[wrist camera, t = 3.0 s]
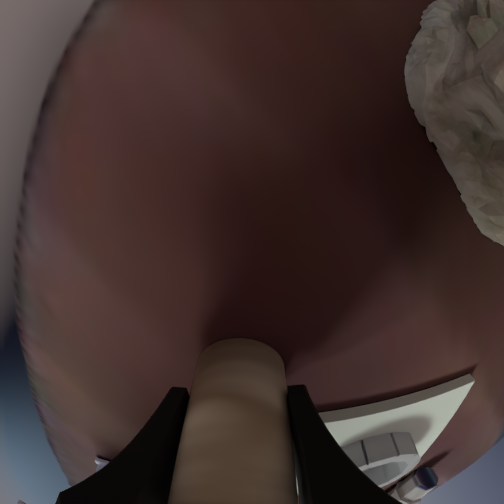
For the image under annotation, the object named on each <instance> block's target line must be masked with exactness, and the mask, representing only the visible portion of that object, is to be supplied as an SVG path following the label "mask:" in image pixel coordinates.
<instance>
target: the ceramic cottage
mask: <svg viewBox="0 0 504 504" xmlns="http://www.w3.org/2000/svg"><path fill="white" fill-rule="evenodd" d="M423 14H424V15H422V17H421V18H422V20H421V22H420V25H421V27H422V28H421V29H420V31H419V32H418V33H417V34H416V36H415V39H414V40H413V42H411V44H412V47H411V48H410V49H409V51H408V52H409V54H407V56H406V64H405V70H404V75H405V83H406V89H407V94H408V100H409V103H410V106H411V108H413V109H414V110H415V112H414V114H415V116H416V118H417V120H418V122H419V123H420V124H421V125H422V126H424V127H426V134H427V137H428V139H429V141H430V142H434V144H435V145H436V147H437V150H436V151H437V152H438V154H439V155H440V158H441V159H442V161H443V163H444V165H445V167H446V169H447V171H448V172H449V174H450V175H451V176H452V178H453V180H454V182H455V184H456V186H457V189H458V190H459V191H460V193H461V195H460V197H461V199H462V202H464V203H465V204H466V206H465V207H467V209H466V210H467V211H468V212H469V214H470V215H471V216H472V218H473V221H474V223H475V224H477V227H478V228H479V230H480V231H481V233H482V234H484V235H485V236H487V237H489V239H492V240H493V242H498V243H499V244H501V245H503V246H504V0H436V1H434V2H433V3H431V4H430V5H428V7H427V9H426V10H424V11H423Z"/></svg>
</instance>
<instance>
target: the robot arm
mask: <svg viewBox="0 0 504 504" xmlns="http://www.w3.org/2000/svg"><path fill="white" fill-rule="evenodd" d="M189 397H190V396H189V394H188V391H187V388H181V387H172V388H171V389H170V390H169V392H168V393H167V395H166V396H165V398H164V399H163V401H162V402H161V404H160V405H159V407H158V408H157V409H156V411H155V412H154V414H153V415H152V416H151V418H150V419H149V420H148V422H147V423H146V424H145V426H144V427H143V428H142V429H141V430H140V432H139V433H138V434H137V435H136V436H135V437H134V439H133V440H132V441H131V442H130V443H129V444H128V445H127V446H126V447H125V448H124V449H123V450H122V451H121V452H120V453H119V454H118V455H117V456H116V457H115V458H114V459H112V460H111V461H106V460H103V459H99V458H96V459H95V462H96V463H97V464H98V466H97V469H96V472H95V473H94V474H93V475H91V476H90V477H88V478H87V479H85V480H84V481H82V482H80V483H78V484H76V485H74V486H72V487H71V488H68V489H66V490H64V491H62V492H60V493H59V496H58V498H57V501H56V503H55V504H168V499H169V494H170V488H171V483H172V478H173V473H174V468H175V463H176V458H177V453H178V448H179V443H180V438H181V433H182V429H183V424H184V419H185V415H186V410H187V406H188V401H189ZM288 405H289V414H290V422H291V431H292V441H293V451H294V461H295V471H296V478H297V485H298V498H299V504H403V503H401V502H399V501H398V500H396V499H395V498H394V497H392V496H391V495H389V494H388V493H387V492H385V491H384V490H383V489H381V488H380V487H379V486H378V485H377V484H375V483H374V482H373V481H372V480H371V479H370V478H369V477H368V476H367V475H365V474H364V473H363V472H362V471H361V470H360V469H359V468H358V467H357V466H356V465H355V463H354V462H353V461H352V460H351V459H350V458H349V457H348V456H347V454H346V453H345V452H344V451H343V450H342V448H341V447H340V446H339V444H338V443H337V442H336V440H335V439H334V437H333V436H332V435H331V433H330V432H329V430H328V429H327V427H326V425H325V424H324V422H323V421H322V419H321V417H320V415H319V414H318V412H317V410H316V408H315V406H314V404H313V402H312V400H311V398H310V396H309V393H308V391H307V388H306V386H305V385H293V386H288ZM18 504H26V503H24V502H22V501H21V500H19V501H18Z"/></svg>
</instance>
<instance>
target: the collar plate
mask: <svg viewBox="0 0 504 504" xmlns="http://www.w3.org/2000/svg"><path fill="white" fill-rule="evenodd" d="M474 381H475V380H474V379H473V377H472V376H471V375H470V373H469V374H467V375H465V376H462V377H459V378H457V379H454V380H451V381H449V382H446V383H443V384H440V385H437V386H434V387H431V388H428V389H425V390H422V391H419V392H415V393H412V394H408V395H405V396H401V397H397V398H393V399H389V400H385V401H381V402H377V403H372V404H367V405H362V406H357V407H352V408H346V409H340V410H334V411H328V412H320V413H318V414H319V415H320V417H321V419H322V421H323V422H324V424H325V425H326V427H327V429H328V430H329V432H330V433H331V435H332V436H333V437H334V439H335V440H336V442H337V443H338V444H339V446H340V447H341V448H342V450H343V451H344V452H345V453H346V454H347V456H348V457H349V458H350V459H351V460H352V461H353V462H354V463H355V465H356V466H357V467H358V468H359V469H360V470H361V471H362V472H363V473H364V474H365V475H367V476H368V477H369V478H370V479H371V480H372V481H373V482H374V483H375V484H377V485H378V486H379V487H382V486H385V485H387V484H390V482H394V481H395V480H397V479H399V478H400V477H402V476H403V475H405V474H407V473H408V472H410V471H411V470H412V469H413V468H414V467H415V466H416V465H417V464H418V463H419V461H420V460H421V459H420V457H421V456H422V455H423V454H424V453H425V452H426V450H427V449H428V448H429V447H430V446H431V444H432V443H433V442H434V441H435V439H436V438H437V437H438V436H439V434H440V433H441V432H442V430H443V429H444V428H445V426H446V425H447V423H448V422H449V421H450V419H451V418H452V416H453V415H454V413H455V412H456V410H457V409H458V407H459V406H460V404H461V403H462V401H463V400H464V398H465V397H466V395H467V393H468V392H469V390H470V388H471V387H472V385H473V383H474ZM296 482H297V478H296ZM297 493H298V485H297Z"/></svg>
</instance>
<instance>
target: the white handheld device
mask: <svg viewBox="0 0 504 504" xmlns="http://www.w3.org/2000/svg"><path fill="white" fill-rule="evenodd" d="M437 482H438V476H437V474H436V473H435V471H434V470H433V469H431V468H429V467H425V468H420V469H417V470H416V471H414V472H413V473H412V474H410V475H409V476H408V477H407V478H406V479H404V480H403V481H399V482H398V483H397V485H396V487H395V488H394V489H392V490H391V491H390V492H389V493H388V494H389V495H391V496H392V497H394V498H395V499H396V500H398V501H399V502H401V503H403V504H416V503H419V502H420V500H421V498H422V497H423V496H424V495H426V494H427V493H428V492H429V491H431V490H432V489H433V488H434V487H436V486H437Z"/></svg>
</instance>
